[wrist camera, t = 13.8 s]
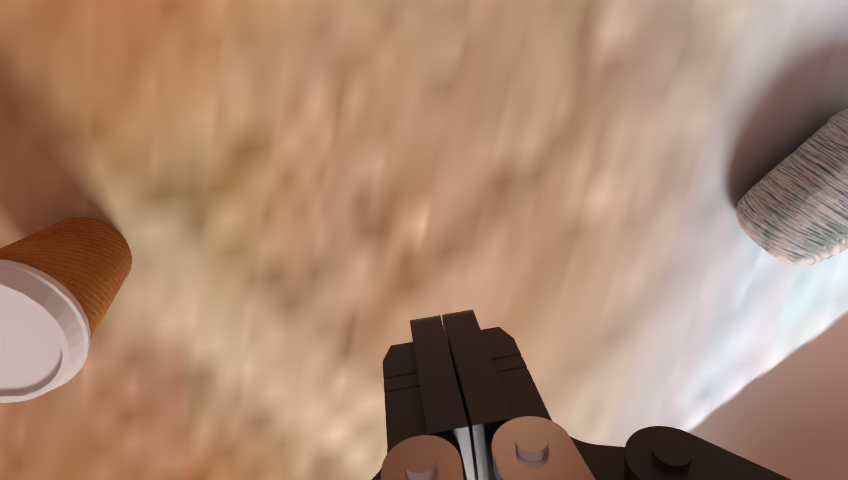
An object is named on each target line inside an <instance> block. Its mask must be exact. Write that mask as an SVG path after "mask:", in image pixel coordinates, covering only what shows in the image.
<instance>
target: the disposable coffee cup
mask: <svg viewBox="0 0 848 480" xmlns="http://www.w3.org/2000/svg"><path fill="white" fill-rule="evenodd" d="M131 264H132V256H131V253H130V249H129V247H128V245H127V243H126V242H125V240H124V239H123V238H122V236H121V235H120V234H118V233H117V232H116V231H115V230H114V229H112V228H111V227H109V226H108V225H106V224H104V223H102V222H100V221H96V220H93V219H88V218H71V219H67V220H64V221H62V222H60V223H58V224H55V225H53V226H51V227H48V228H46V229H43V230H41V231H39V232H37V233H34V234H32V235H30V236H28V237H26V238H23V239H21V240H19V241H17V242H14V243H12V244H10V245H7V246H5V247H3V248H1V249H0V402H4V403H8V402H20V401H24V400H29V399H32V398H35V397H38V396H40V395H43V394H45V393H46V392H48V391H49V390H53V389H55V388H57V387H59V386H61V385H63V384H65V383H66V382H68V381H69V380H70V379H71V378H73V377H74V376H75V375H76V374H77V372H78V371H79V370H80V369H81V367H82V366H83V364H84V362H85V360H86V358H87V354H88V350H89V346H90V340H91V338H92V336H93V334H94V333H95V331H96V329H97V328H98V326H99V324H100V322H101V320H102V319H103V317H104V315H105V313H106V312H107V310H108V308H109V306H110V304H111V303H112V301H113V299H114V298H115V296H116V294H117V292H118V290H119V289H120V287H121V285H122V284H123V282H124V280H125V278H126V277H127V275H128V274H129V272H130V269H131Z"/></svg>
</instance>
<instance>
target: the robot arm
mask: <svg viewBox="0 0 848 480" xmlns="http://www.w3.org/2000/svg"><path fill="white" fill-rule="evenodd" d="M442 319H443V325H442V321H441V317H440V315H439V316H433V317H428V318H422V319H416V320H410V325H411V331H412V338H413V342H410V343H404V344H398V345H392V346H391V347H390V348H389V350H388V352H387V354H386V356H385V358H384V360H383V375H384V392H385V410H386V428H387V445H388V448H387V456H386V457H385V459H384V461H383V464H382V468H381V469H380V471H379V472H378V473H377V475H376V476H375V477H374V478H373V479H372V480H791V479H788V478H786V477H784V476H782V475H779V474H777V473H775V472H773V471H771V470H769V469H766V468H764V467H762V466H760V465H758V464H755V463H753V462H751V461H749V460H746V459H745V458H742V457H740V456H738V455H736V454H733V453H731V452H729V451H727V450H725V449H723V448H720V447H718V446H716V445H714V444H712V443H709V442H707V441H705V440H703V439H701V438H698V437H696V436H694V435H692V434H690V433H687V432H685V431H682V430H680V429H676V428H672V427H666V426H653V427H647V428H643V429H641V430H638V431H637V432H635V433H634V434H633V435H632V436H631V437H630V438H629V439H628V441H627V443H626V446H625V447H616V446H605V445H595V444H589V443H585V442H582V441H579V440H576V439H574V438H572V437H570V436H569V435H568V433H567V432H566V431H565V430H564V429H563V428H562V427H561V426H559V425H558V424H556V423H555V422H553V421H552V419H551V418H550V416H549V414H548V411H547V409H546V407H545V405H544V403H543V401H542V399H541V396H540V394H539V392H538V390H537V388H536V386H535V383H534V381H533V379H532V377H531V375H530V373H529V370H528V369H527V366H526V364H525V362H524V360H523V358H522V357H521V353H520V351H519V349H518V347H517V345H516V342H515V340H514V338H512V337H511V336H510V335H509V334H507V333H506V332H505V331H503V330H502V329H501V328H500V327H495V328H489V329H484V330H480V327H479V325H478V322H477V319H476V317H475V314H474V311H473V310H468V311H462V312H456V313H450V314H444V315H442ZM443 327H444V329H443Z"/></svg>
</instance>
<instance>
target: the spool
mask: <svg viewBox="0 0 848 480" xmlns="http://www.w3.org/2000/svg"><path fill="white" fill-rule="evenodd" d="M736 215H737V218H738V221H739V223H740V226H741V228H742V229H743V231H744V232H745V233H746V234H747V235H748V236H749V237H750V238H751V239H752V240H753V241H754V242H756V243H757V244H758V245H759V246H761V247H762V248H763V249H765V250H766V251H767V252H768V253H769V254H771V255H772V256H774V257H775V258H777V259H778V260H780V261H782V262H786V263H790V264H797V265H809V264H815V263H818V262H821V261H823V260H826V259H828V258H830V257H832V256H834V255H836V254H838V253H840V252H842V251H844V250H845V249H847V248H848V108H845V109H843V110H842V111H840V112H838V113H836V114H835V115H833V116H832V117H830V118H829V119H828V121H827V123H826V124H824V125H823V126H822V127H821V128H819V129H818V130H817V131H816V132H815V133H814V134H813V135H812V136H811V137H810V138H809V139H807V140H806V141H805V142H803V143H802V144H801V145H800V146H799V147H798V148H797V149H796V150H795V151H794V152H792V153H791V154H790V155H789V156H788V157H786V158H785V159H784V160H782V161H781V162H780V163H779V164H778V165H777V166H776V167H775V168H774V169H773V170H771V171H770V172H769V173H768V174H766V175H765V176H764V177H763V178H762V179H761V180H760V181H759V182H758V183H756V184H755V185H754V186H753V187H752V188H751V189H750V190H749V191H748V192H747V193H746V194H745V195H744V196H743V197H742V198H741V199H740V200H739V202H738V204H737V211H736Z"/></svg>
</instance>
